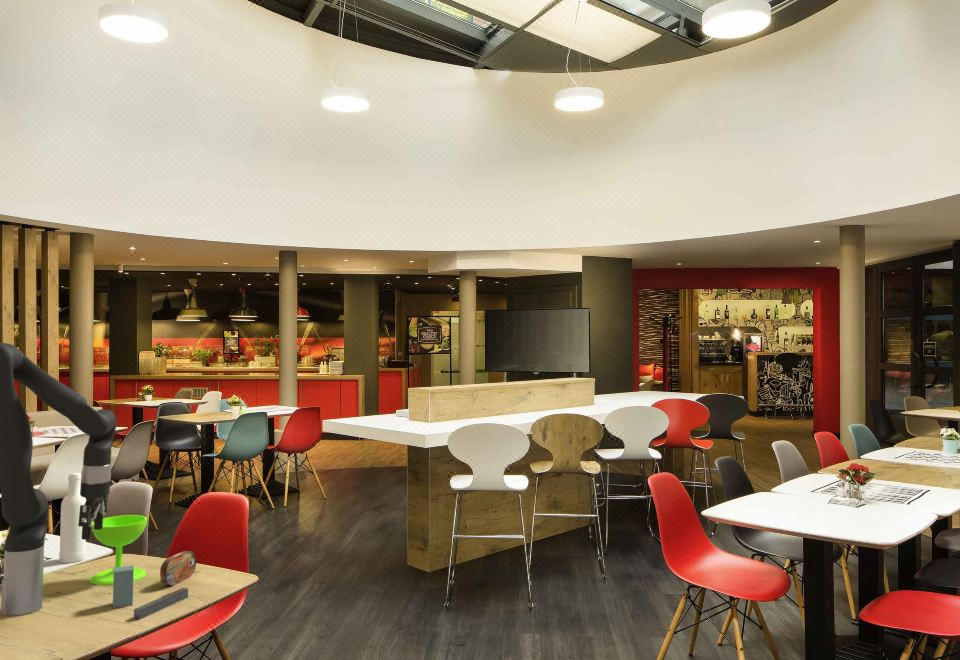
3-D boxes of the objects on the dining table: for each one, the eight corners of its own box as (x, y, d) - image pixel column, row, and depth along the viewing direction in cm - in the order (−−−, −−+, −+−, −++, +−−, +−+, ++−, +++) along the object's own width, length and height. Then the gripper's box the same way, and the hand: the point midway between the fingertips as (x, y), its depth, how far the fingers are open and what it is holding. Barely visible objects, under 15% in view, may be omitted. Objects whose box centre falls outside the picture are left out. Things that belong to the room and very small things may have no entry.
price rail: (139, 619, 182) (139, 610, 182) (131, 618, 183) (132, 608, 183) (188, 597, 199) (188, 588, 199) (180, 596, 200) (181, 587, 200)
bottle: (83, 555, 241) (85, 470, 242) (87, 560, 235) (89, 473, 236) (57, 559, 236) (59, 473, 237) (60, 565, 230) (63, 476, 231)
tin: (166, 589, 206) (167, 561, 207) (157, 588, 207) (158, 560, 207) (196, 574, 221) (197, 547, 221) (188, 573, 222) (188, 547, 222)
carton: (112, 607, 191) (113, 572, 191) (113, 602, 195) (114, 567, 195) (132, 605, 193) (133, 569, 193) (133, 600, 197) (134, 565, 197)
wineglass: (107, 589, 206) (109, 529, 207) (79, 580, 214) (80, 522, 215) (156, 574, 220) (157, 519, 220) (128, 566, 228) (129, 513, 229)
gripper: (92, 472, 203) (88, 525, 203) (71, 485, 189) (67, 542, 189) (118, 473, 204) (115, 526, 204) (100, 486, 190) (96, 543, 190)
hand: (92, 534), depth 197 cm, fingers open, 8 cm apart
